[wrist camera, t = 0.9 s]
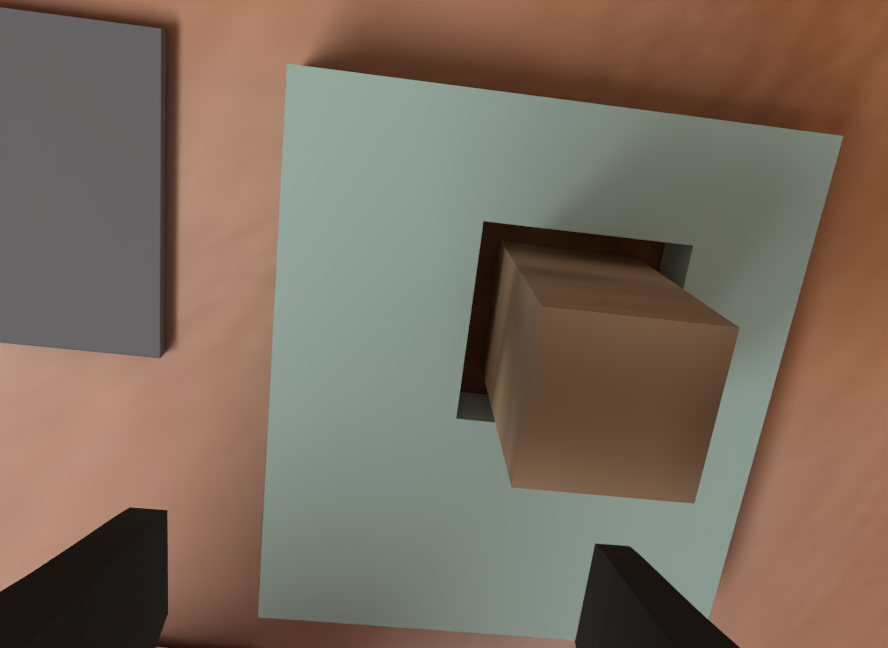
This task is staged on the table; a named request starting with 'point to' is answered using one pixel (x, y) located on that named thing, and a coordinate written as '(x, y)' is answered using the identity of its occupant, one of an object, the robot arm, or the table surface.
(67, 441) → the table surface
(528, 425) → the walnut block
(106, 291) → the rubber mat
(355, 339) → the pocket board
